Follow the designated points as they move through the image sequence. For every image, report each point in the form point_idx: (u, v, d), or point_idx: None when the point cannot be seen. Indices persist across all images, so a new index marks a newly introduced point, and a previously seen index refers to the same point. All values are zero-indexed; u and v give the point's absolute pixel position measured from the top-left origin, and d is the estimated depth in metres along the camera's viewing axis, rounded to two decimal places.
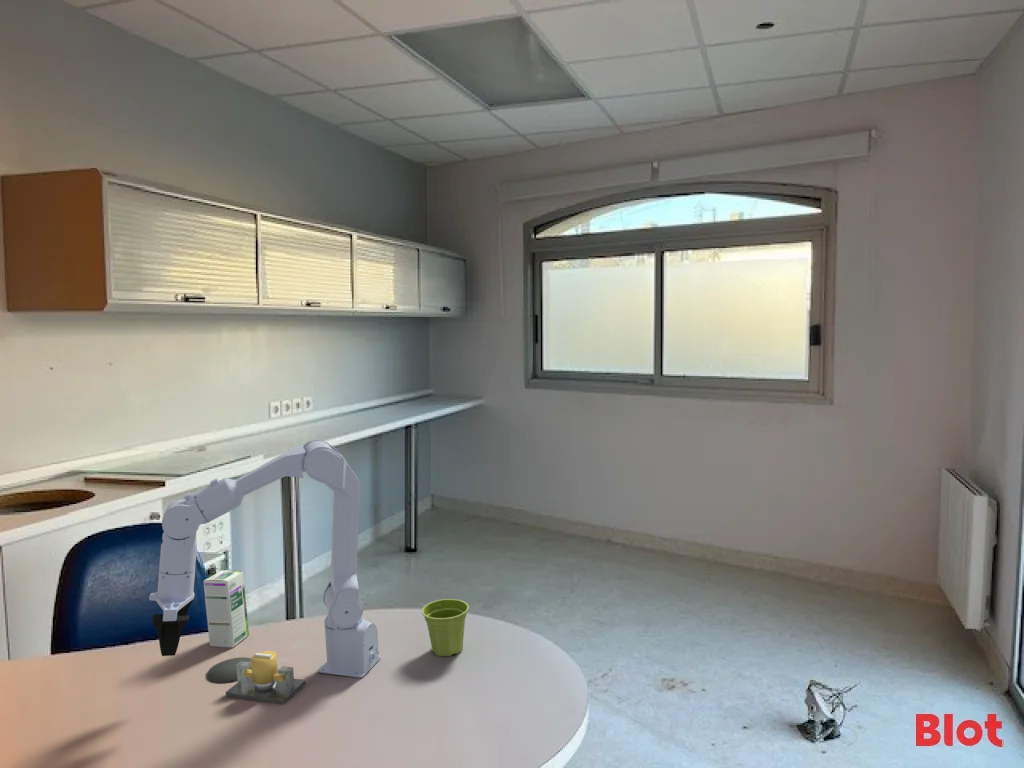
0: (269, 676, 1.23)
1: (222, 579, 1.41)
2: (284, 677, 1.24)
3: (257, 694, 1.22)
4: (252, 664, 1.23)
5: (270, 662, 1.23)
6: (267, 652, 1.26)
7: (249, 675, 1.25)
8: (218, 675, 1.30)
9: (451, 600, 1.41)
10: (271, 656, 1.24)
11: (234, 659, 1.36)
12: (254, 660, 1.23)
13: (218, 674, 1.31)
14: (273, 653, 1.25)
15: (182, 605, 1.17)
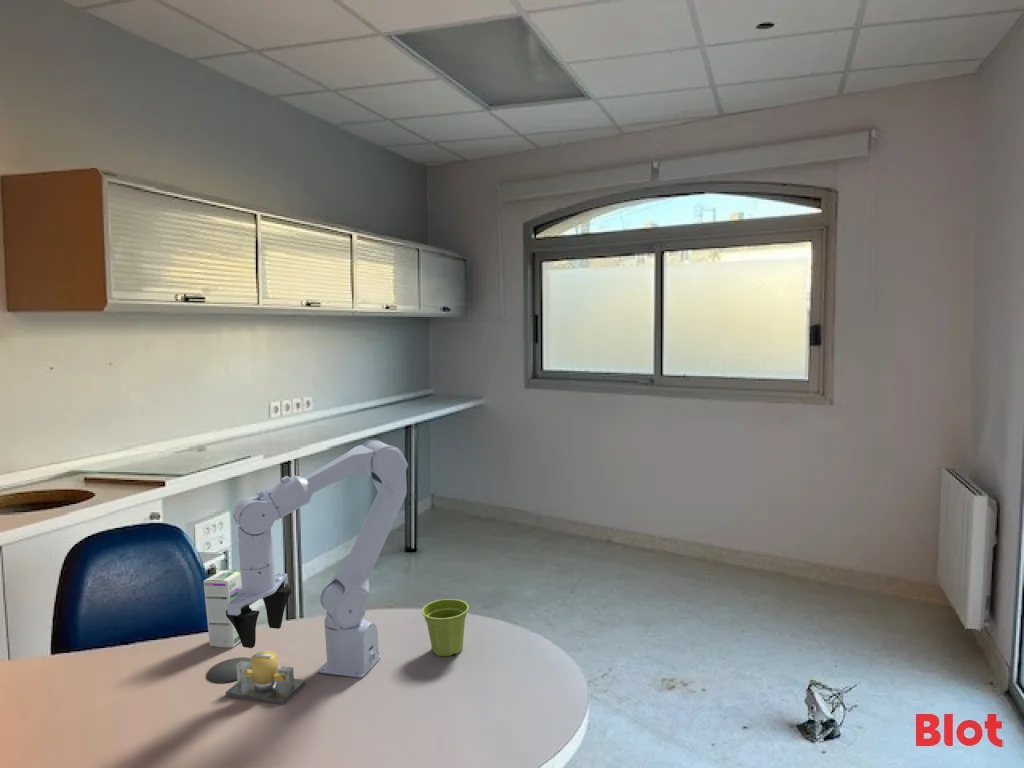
0: (269, 676, 1.23)
1: (222, 579, 1.41)
2: (284, 677, 1.24)
3: (257, 694, 1.22)
4: (252, 664, 1.23)
5: (270, 662, 1.23)
6: (267, 652, 1.26)
7: (249, 675, 1.25)
8: (218, 675, 1.30)
9: (451, 600, 1.41)
10: (271, 656, 1.24)
11: (234, 659, 1.36)
12: (254, 660, 1.23)
13: (218, 674, 1.31)
14: (273, 653, 1.25)
15: (250, 600, 1.19)
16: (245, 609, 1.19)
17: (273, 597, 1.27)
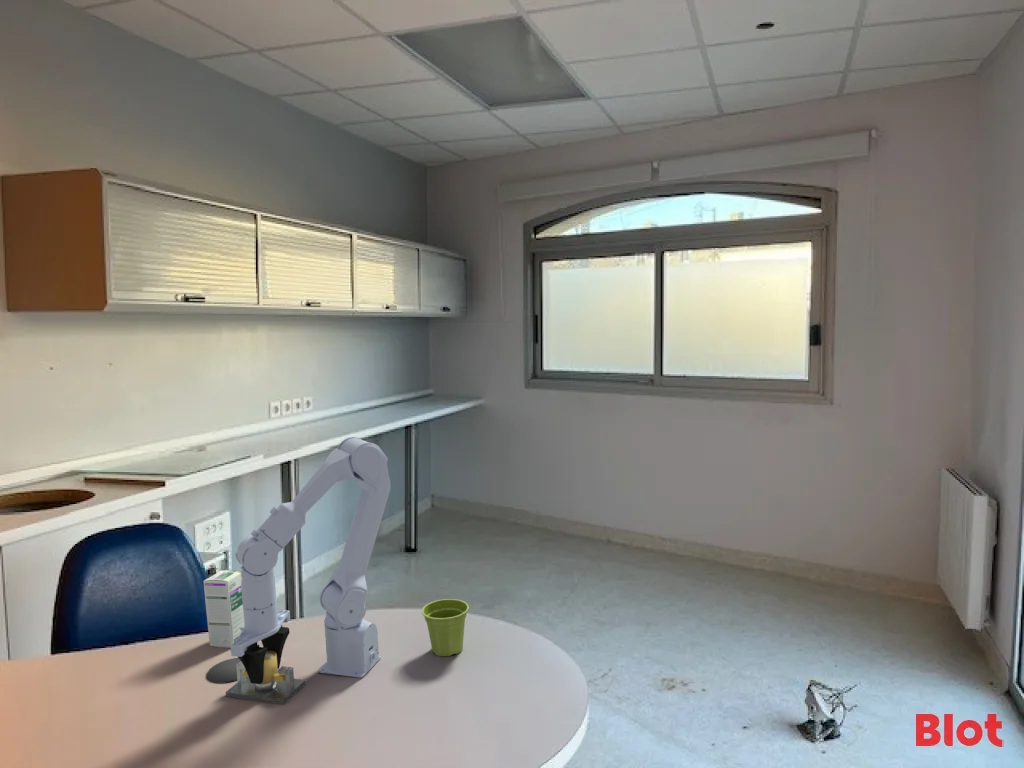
0: (269, 676, 1.23)
1: (222, 579, 1.41)
2: (284, 677, 1.24)
3: (257, 694, 1.22)
4: None
5: (270, 662, 1.23)
6: (267, 652, 1.26)
7: None
8: (218, 675, 1.30)
9: (451, 600, 1.41)
10: (271, 656, 1.24)
11: (234, 659, 1.36)
12: None
13: (218, 674, 1.31)
14: (273, 653, 1.25)
15: (253, 641, 1.19)
16: (253, 646, 1.20)
17: (271, 638, 1.26)
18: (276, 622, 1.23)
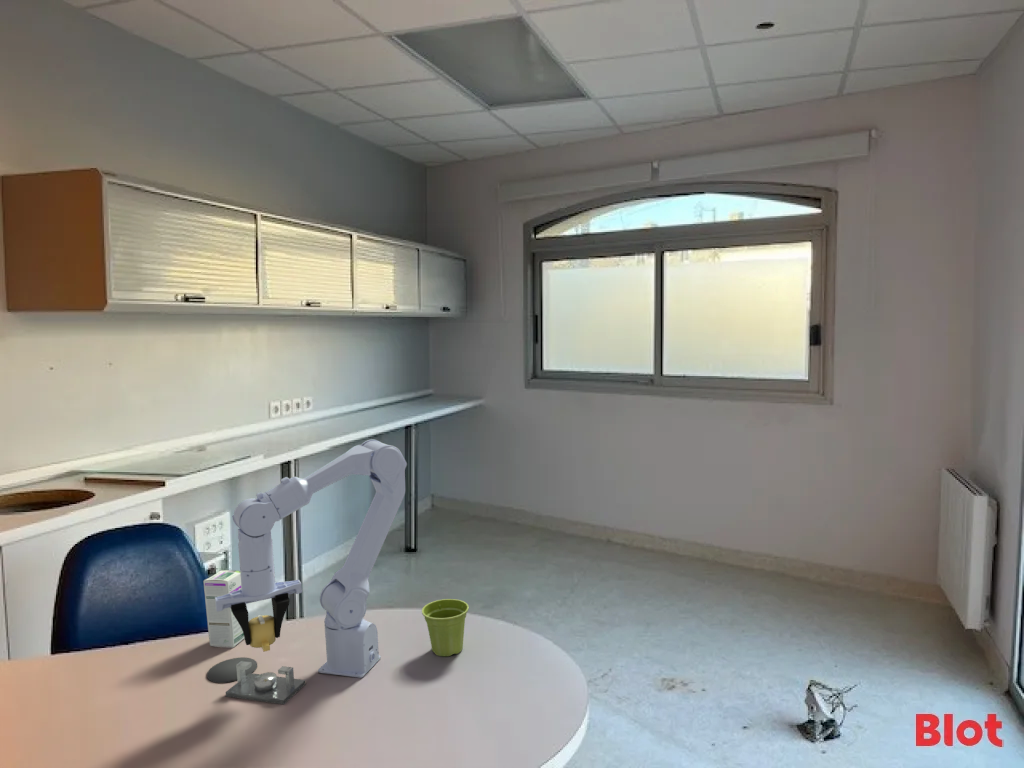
0: (257, 642, 1.22)
1: (222, 579, 1.41)
2: (266, 648, 1.20)
3: (257, 694, 1.22)
4: None
5: (258, 628, 1.22)
6: (270, 617, 1.25)
7: None
8: (218, 675, 1.30)
9: (451, 600, 1.41)
10: (262, 622, 1.22)
11: (234, 659, 1.36)
12: (251, 621, 1.24)
13: (218, 674, 1.31)
14: (270, 620, 1.23)
15: (233, 600, 1.20)
16: (238, 606, 1.21)
17: (274, 604, 1.24)
18: (264, 589, 1.21)
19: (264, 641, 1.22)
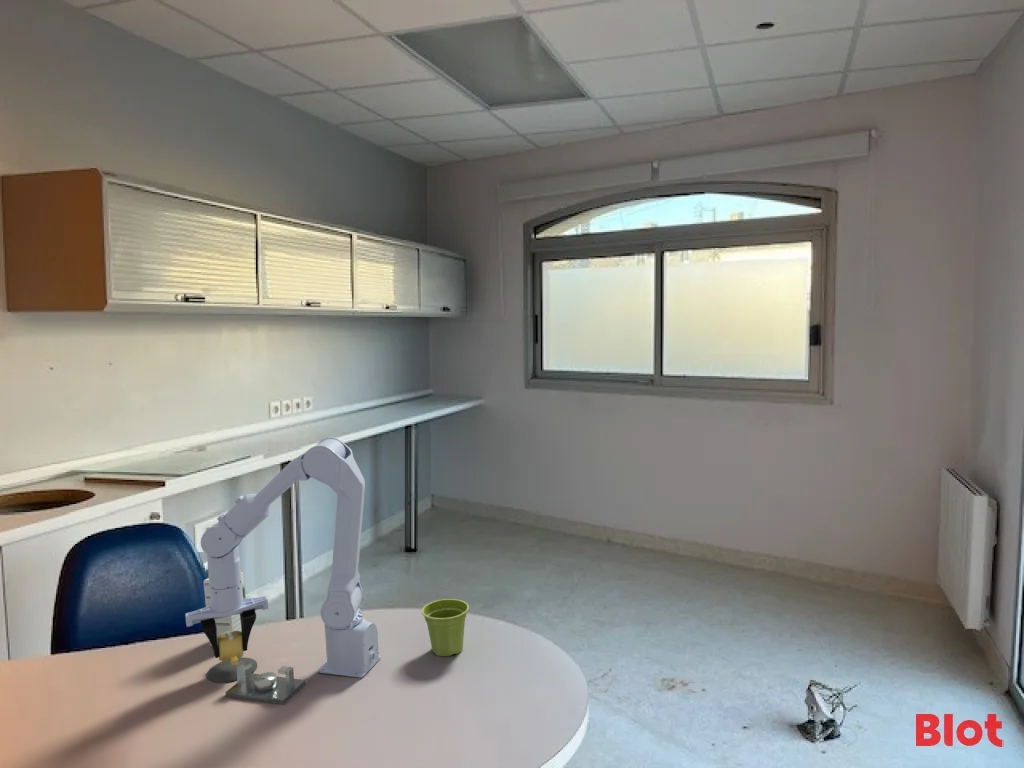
0: (226, 656, 1.30)
1: None
2: (235, 662, 1.28)
3: (257, 694, 1.22)
4: (217, 639, 1.31)
5: (227, 643, 1.29)
6: (238, 633, 1.33)
7: None
8: (218, 675, 1.30)
9: (451, 600, 1.41)
10: (231, 638, 1.30)
11: None
12: (220, 636, 1.31)
13: (218, 674, 1.31)
14: (238, 636, 1.31)
15: (202, 616, 1.28)
16: (208, 621, 1.29)
17: (241, 620, 1.33)
18: (232, 606, 1.29)
19: (233, 655, 1.30)
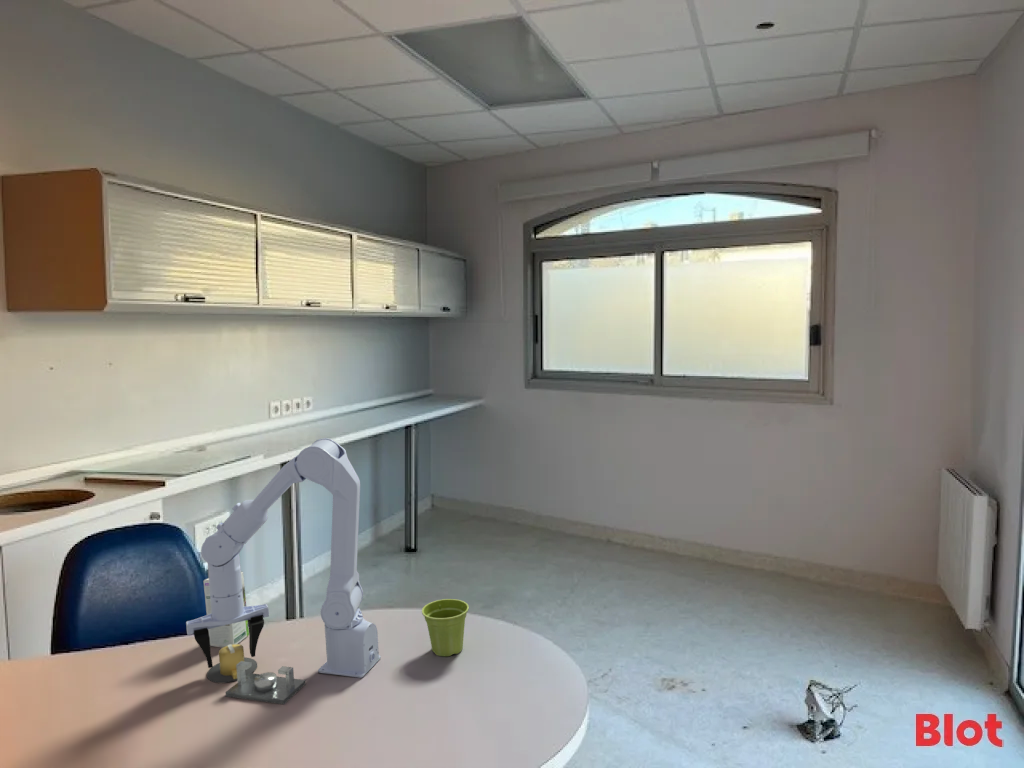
0: (227, 670, 1.30)
1: None
2: (236, 676, 1.29)
3: (257, 694, 1.22)
4: (219, 653, 1.32)
5: (228, 657, 1.30)
6: (239, 646, 1.33)
7: None
8: (218, 675, 1.30)
9: (451, 600, 1.41)
10: (232, 652, 1.31)
11: None
12: (221, 650, 1.32)
13: (218, 674, 1.31)
14: (240, 649, 1.32)
15: (203, 624, 1.28)
16: (201, 631, 1.28)
17: (249, 626, 1.33)
18: (232, 614, 1.29)
19: (234, 669, 1.30)
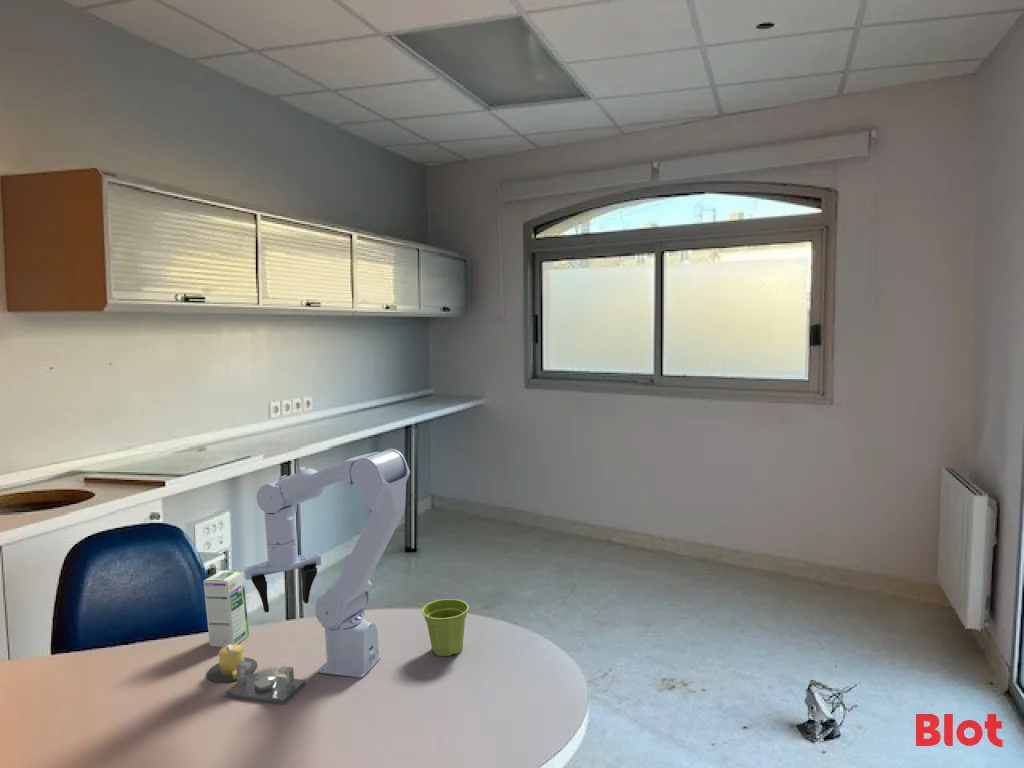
0: (227, 670, 1.30)
1: (222, 579, 1.41)
2: (236, 676, 1.29)
3: (257, 694, 1.22)
4: (219, 653, 1.32)
5: (228, 657, 1.30)
6: (239, 646, 1.33)
7: None
8: (218, 675, 1.30)
9: (451, 600, 1.41)
10: (232, 652, 1.31)
11: None
12: (221, 650, 1.32)
13: (218, 674, 1.31)
14: (240, 649, 1.32)
15: (261, 570, 1.33)
16: (258, 577, 1.34)
17: (303, 573, 1.39)
18: (288, 561, 1.35)
19: (234, 669, 1.30)
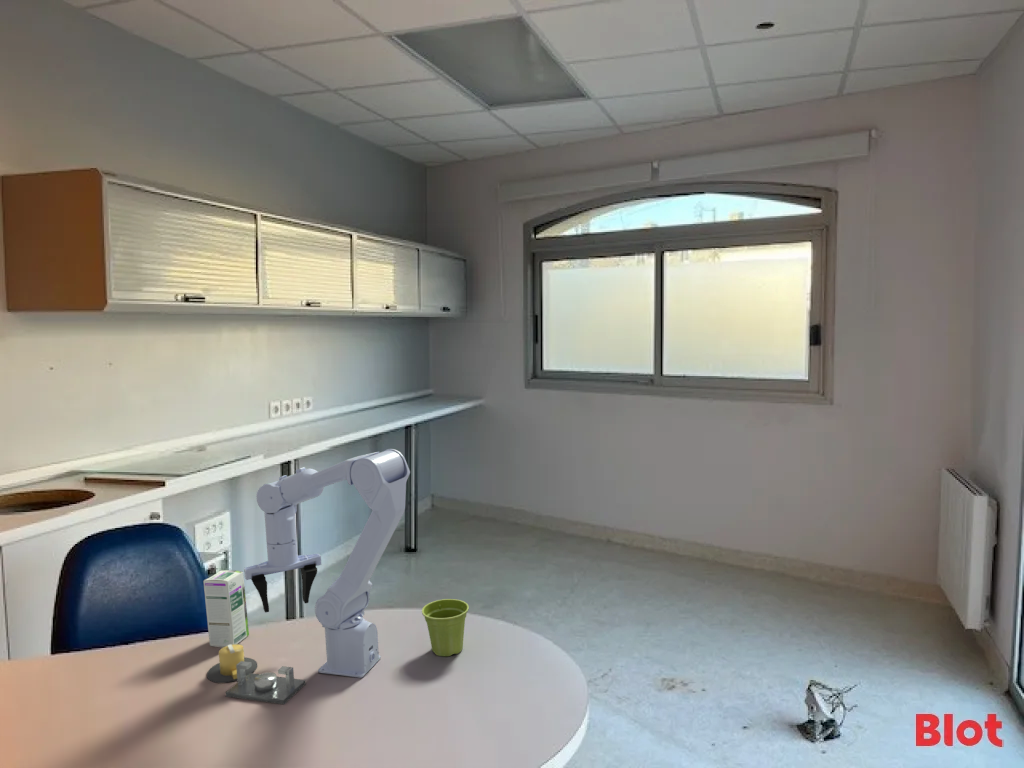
0: (227, 670, 1.30)
1: (222, 579, 1.41)
2: (236, 676, 1.29)
3: (257, 694, 1.22)
4: (219, 653, 1.32)
5: (228, 657, 1.30)
6: (239, 646, 1.33)
7: None
8: (218, 675, 1.30)
9: (451, 600, 1.41)
10: (232, 652, 1.31)
11: None
12: (221, 650, 1.32)
13: (218, 674, 1.31)
14: (239, 649, 1.32)
15: (261, 570, 1.33)
16: (258, 577, 1.34)
17: (303, 573, 1.39)
18: (288, 561, 1.35)
19: (234, 669, 1.30)
